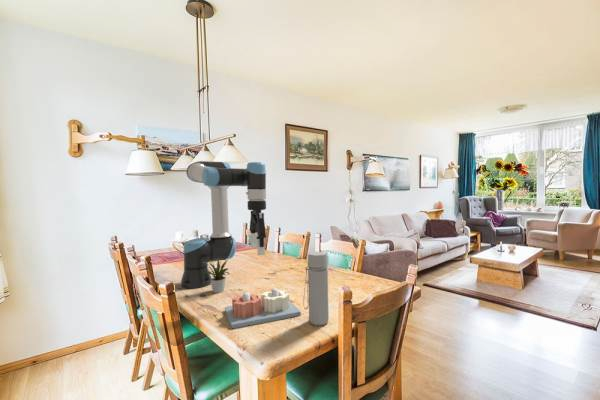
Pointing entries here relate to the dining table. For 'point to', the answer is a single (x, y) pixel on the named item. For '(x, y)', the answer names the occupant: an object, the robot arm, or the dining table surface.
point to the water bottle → (317, 288)
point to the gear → (246, 306)
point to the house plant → (218, 277)
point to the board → (266, 309)
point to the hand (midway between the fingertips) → (257, 251)
